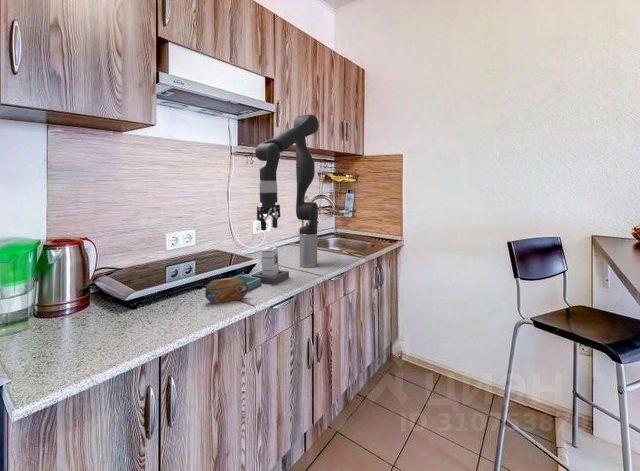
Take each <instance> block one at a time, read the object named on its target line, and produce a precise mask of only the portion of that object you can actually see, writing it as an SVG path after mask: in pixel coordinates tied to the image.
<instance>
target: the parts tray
mask: <svg viewBox="0 0 640 471" xmlns="http://www.w3.org/2000/svg"><path fill="white" fill-rule="evenodd" d="M234 277H238V278H241V279H243V280H244V281H245V282H246V283H247V285H248V291H247V293H248V292H250V291H252V290H254V289H255V288H258V287H260V286H262V283H261V278H256V277H251V276H248V275H244V274H243V275H242V274H238V275H235V276H233V277H232V278H234Z"/></svg>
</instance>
